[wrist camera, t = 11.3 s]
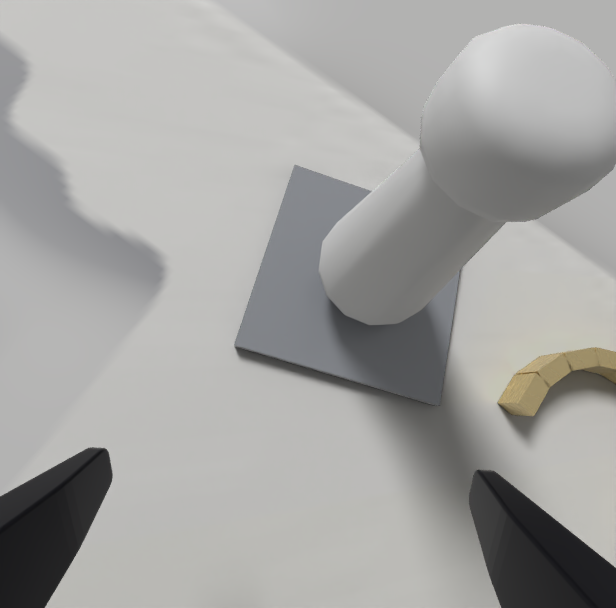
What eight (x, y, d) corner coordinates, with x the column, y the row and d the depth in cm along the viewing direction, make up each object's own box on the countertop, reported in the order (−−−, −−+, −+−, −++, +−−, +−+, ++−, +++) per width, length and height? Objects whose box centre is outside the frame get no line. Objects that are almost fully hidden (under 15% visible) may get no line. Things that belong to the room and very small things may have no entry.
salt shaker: (318, 223, 20) (436, -62, 8) (414, 244, 21) (665, 12, 8) (303, 324, 18) (422, 168, 6) (408, 343, 19) (709, 237, 7)
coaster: (433, 405, 19) (439, 405, 18) (234, 346, 18) (234, 344, 18) (461, 228, 22) (467, 224, 22) (293, 171, 21) (294, 164, 21)
